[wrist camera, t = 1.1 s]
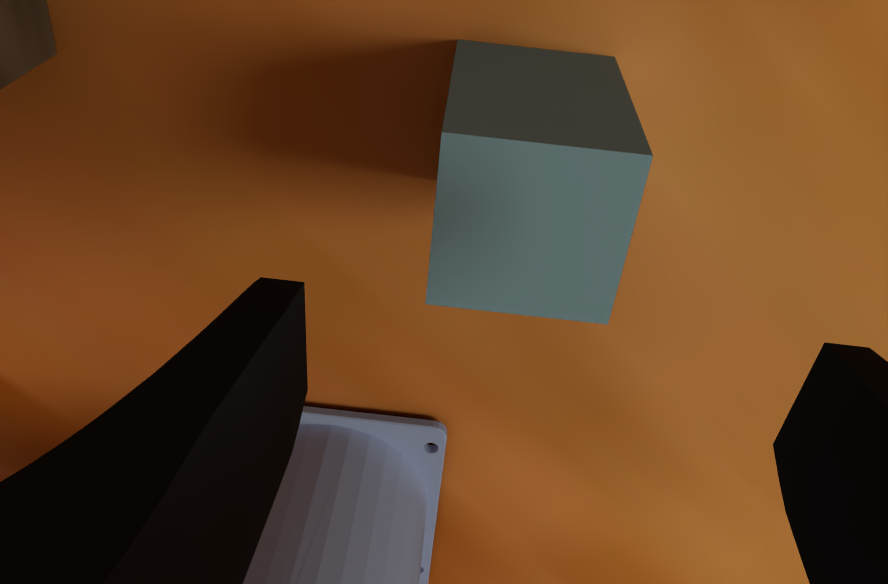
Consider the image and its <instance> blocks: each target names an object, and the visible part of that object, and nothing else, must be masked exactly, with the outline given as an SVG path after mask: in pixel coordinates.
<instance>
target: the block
mask: <svg viewBox="0 0 888 584" xmlns="http://www.w3.org/2000/svg"><path fill="white" fill-rule="evenodd" d="M652 157H653V154H652V152H651V149H650V147H649V144H648V141H647V139H646V136H645V134H644V131H643V128H642V126H641V123H640V121H639V118H638V116H637V113H636V110H635V108H634V105H633V103H632V100H631V97H630V95H629V92H628V90H627V87H626V85H625V82H624V79H623V77H622V74H621V72H620V69H619V67H618V64H617V61H616V59H615V57H611V56H602V55H593V54H584V53H575V52H566V51H557V50H548V49H539V48H530V47H521V46H512V45H503V44H493V43H484V42H475V41H466V40H457V46H456V52H455V57H454V63H453V69H452V75H451V81H450V87H449V92H448V98H447V104H446V110H445V116H444V121H443V127H442V134H441V144H440V155H439V166H438V176H437V187H436V198H435V208H434V219H433V230H432V240H431V251H430V262H429V272H428V283H427V294H426V304H430V305H439V306H448V307H457V308H466V309H475V310H484V311H493V312H502V313H511V314H520V315H529V316H538V317H547V318H556V319H565V320H574V321H583V322H591V323H600V324H608V322H609V318H610V314H611V311H612V307H613V303H614V299H615V296H616V292H617V288H618V284H619V281H620V277H621V273H622V270H623V266H624V262H625V258H626V255H627V251H628V247H629V243H630V240H631V236H632V232H633V228H634V225H635V221H636V217H637V213H638V210H639V206H640V202H641V199H642V195H643V191H644V187H645V184H646V180H647V176H648V172H649V169H650V165H651V161H652Z"/></svg>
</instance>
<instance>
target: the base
mask: <svg viewBox="0 0 888 584" xmlns="http://www.w3.org/2000/svg"><path fill="white" fill-rule="evenodd" d="M55 54H57V53H56V48H55V43H54V38H53V33H52V28H51V24H50V19H49V14H48V9H47V4H46V0H0V89H2V88H3V87H5V86H6V85H8V84H9V83H11V82H13V81H14V80H16V79H17V78H19V77H21V76H22V75H24V74H25V73H27V72H28V71H30V70H32V69H33V68H35V67H36V66H38V65H39V64H41V63H43V62H44V61H46V60H47V59H49V58H50V57H52V56H54V55H55Z"/></svg>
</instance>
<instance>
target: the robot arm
mask: <svg viewBox="0 0 888 584" xmlns="http://www.w3.org/2000/svg"><path fill="white" fill-rule="evenodd" d="M307 390H308V387H307V355H306V323H305V291H304V282H297V281H288V280H279V279H271V278H262V277H261V278H259V279H258V280H257V281H255V282H254V283H253V284H252V285H251V286H250V287H249V288H247V289H246V290H245V291H244V292H243V293H242V294H241V295H240V296H239V297H238V298H237V299H236V300H235V301H234V302H233V303H232V304H231V305H229V306H228V307H227V308H226V309H225V310H224V311H223V312H222V313H221V314H220V315H219V316H218V317H217V318H216V319H215V320H213V321H212V322H211V323H210V324H209V325H208V326H207V327H206V328H205V329H204V330H203V331H202V332H200V333H199V334H198V335H197V336H196V337H195V338H194V339H193V340H191V341H190V342H189V343H188V344H187V345H186V346H185V347H183V348H182V349H181V350H180V351H179V352H178V353H177V354H175V355H174V356H173V357H172V358H171V359H170V360H169V361H167V362H166V363H165V364H164V365H163V366H162V367H161V368H159V369H158V370H157V371H156V372H155V373H153V374H152V375H151V376H150V377H149V378H147V379H146V380H145V381H143V382H142V383H141V384H140V385H138V386H137V387H136V388H135V389H133V390H132V391H131V392H130V393H128V394H127V395H126V396H124V397H123V398H122V399H121V400H119V401H118V402H117V403H116V404H114V405H113V406H112V407H110V408H109V409H108V410H107V411H105V412H104V413H103V414H101V415H100V416H99V417H97V418H96V419H95V420H93V421H92V422H91V423H89V424H88V425H86V426H85V427H84V428H82V429H81V430H79V431H78V432H77V433H75V434H74V435H72V436H71V437H70V438H68V439H67V440H65V441H64V442H62V443H61V444H59V445H58V446H56V447H55V448H53V449H52V450H50V451H49V452H47V453H46V454H44V455H43V456H41V457H40V458H38V459H37V460H35V461H34V462H32V463H31V464H29V465H28V466H26V467H24V468H23V469H21V470H20V471H18V472H16V473H15V474H13V475H11V476H10V477H8V478H6V479H4V480H3V481H1V482H0V584H428V578H429V571H430V563H431V555H432V547H433V540H434V532H435V524H436V516H437V509H438V501H439V493H440V486H441V478H442V470H443V462H444V455H445V447H446V439H447V428H446V427H445V426H444V425H443V424H442V423H440V422H438V421H434V420H425V419H416V418H407V417H398V416H389V415H380V414H371V413H362V412H353V411H344V410H335V409H326V408H317V407H308V406H304V403H305V398H306V394H307ZM427 443H434V444H436V445H429V444H427ZM773 447H774V453H775V459H776V465H777V471H778V477H779V482H780V487H781V492H782V496H783V501H784V506H785V511H786V514H787V517H788V520H789V523H790V527H791V530H792V533H793V536H794V539H795V541H796V544H797V547H798V550H799V553H800V556H801V559H802V562H803V565H804V568H805V571H806V574H807V577H808V580H809V583H810V584H888V362H887V361H886V360H885V359H883V358H882V357H881V356H879V355H878V354H877V353H875V352H874V351H873V350H872V349H870V348H867V347H859V346H850V345H841V344H833V343H824V345H823V347H822V349H821V350H820V352H819V354H818V356H817V358H816V360H815V362H814V364H813V366H812V368H811V370H810V372H809V374H808V376H807V378H806V380H805V382H804V384H803V386H802V388H801V390H800V392H799V394H798V396H797V398H796V400H795V402H794V404H793V406H792V408H791V410H790V412H789V414H788V416H787V418H786V420H785V422H784V424H783V426H782V428H781V429H780V431H779V433H778V435H777V437H776V439H775V441H774V443H773Z"/></svg>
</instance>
